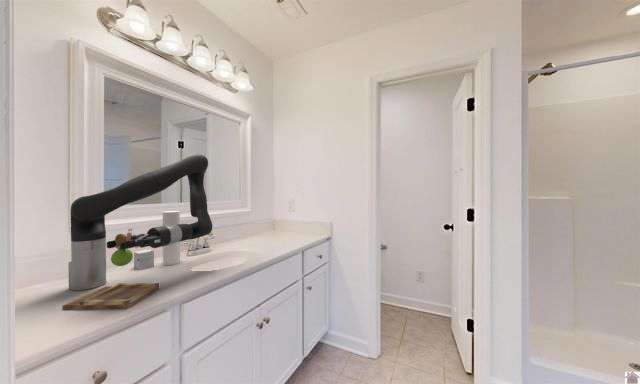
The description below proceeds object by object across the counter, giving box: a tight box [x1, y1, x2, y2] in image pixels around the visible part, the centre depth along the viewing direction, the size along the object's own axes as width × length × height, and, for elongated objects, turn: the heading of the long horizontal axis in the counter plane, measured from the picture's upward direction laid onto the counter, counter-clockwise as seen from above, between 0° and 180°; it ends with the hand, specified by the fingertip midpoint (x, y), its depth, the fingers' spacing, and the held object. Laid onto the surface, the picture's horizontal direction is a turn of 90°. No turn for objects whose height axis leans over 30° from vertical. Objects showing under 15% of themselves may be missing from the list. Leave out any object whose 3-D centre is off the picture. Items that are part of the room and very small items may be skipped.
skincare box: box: [133, 248, 155, 270], centre depth 109 cm, size 6×6×7 cm
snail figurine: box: [110, 228, 134, 267], centre depth 77 cm, size 5×6×12 cm
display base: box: [62, 282, 160, 310], centre depth 77 cm, size 19×14×2 cm
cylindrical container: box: [162, 210, 181, 266], centre depth 116 cm, size 7×7×25 cm
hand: (114, 245), depth 74 cm, fingers closed on snail figurine, 5 cm apart
